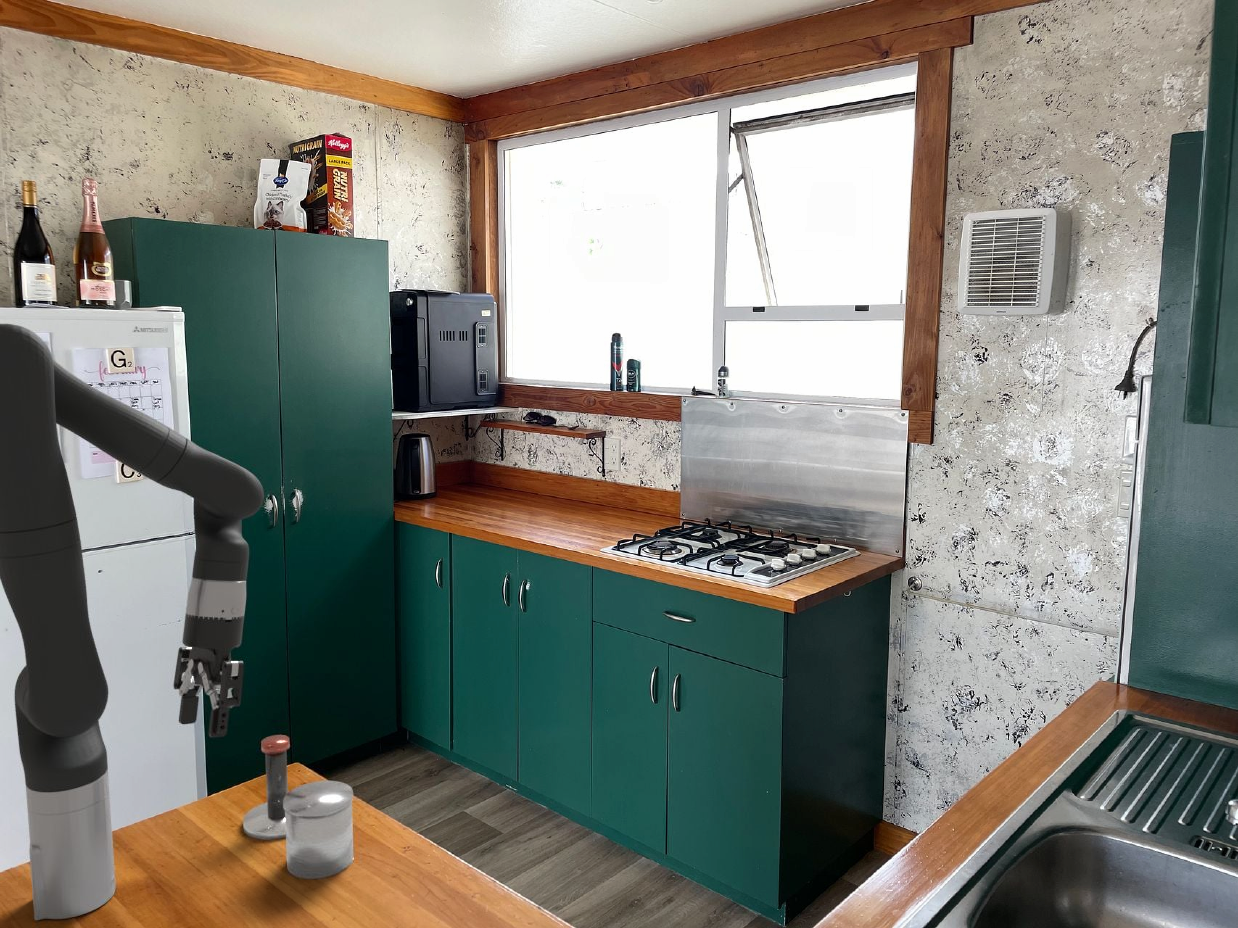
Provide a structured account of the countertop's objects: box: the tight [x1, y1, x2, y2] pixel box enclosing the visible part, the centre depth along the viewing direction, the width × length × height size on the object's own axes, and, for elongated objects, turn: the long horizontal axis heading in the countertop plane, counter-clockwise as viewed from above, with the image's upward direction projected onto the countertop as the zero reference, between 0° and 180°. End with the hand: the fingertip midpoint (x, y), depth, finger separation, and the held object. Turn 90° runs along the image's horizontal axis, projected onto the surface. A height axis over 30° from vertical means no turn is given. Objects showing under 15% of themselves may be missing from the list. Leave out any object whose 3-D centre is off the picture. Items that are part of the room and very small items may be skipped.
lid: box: [242, 734, 291, 841], centre depth 142 cm, size 10×10×13 cm
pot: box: [283, 780, 354, 880], centre depth 132 cm, size 9×9×10 cm
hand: (201, 729), depth 128 cm, fingers open, 8 cm apart
